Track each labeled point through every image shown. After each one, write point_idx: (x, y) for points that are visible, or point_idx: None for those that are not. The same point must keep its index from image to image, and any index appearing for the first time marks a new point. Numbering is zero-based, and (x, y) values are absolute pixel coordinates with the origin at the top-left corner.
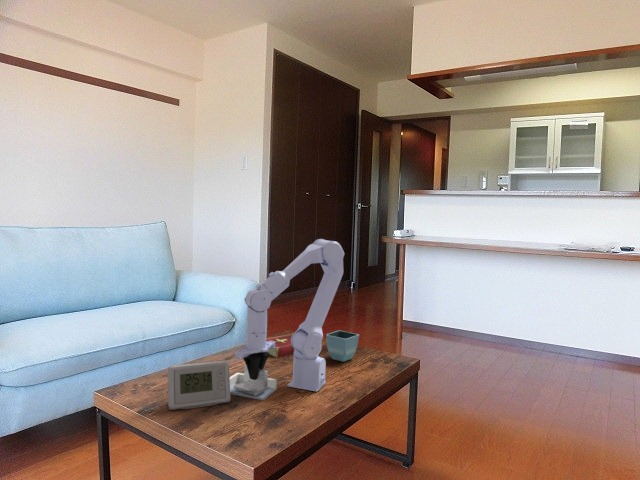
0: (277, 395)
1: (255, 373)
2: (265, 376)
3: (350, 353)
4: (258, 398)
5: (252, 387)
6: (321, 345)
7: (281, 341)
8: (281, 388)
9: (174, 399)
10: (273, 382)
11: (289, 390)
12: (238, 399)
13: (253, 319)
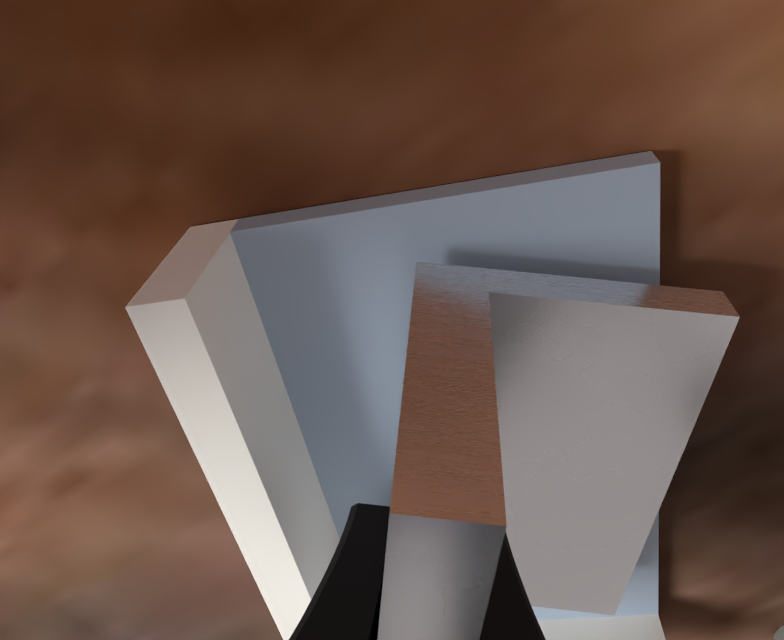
0: (350, 78)
1: (537, 621)
2: (471, 432)
3: None
4: (654, 232)
5: (549, 443)
6: None
7: None
8: (102, 190)
9: None
10: (210, 305)
11: (54, 35)
12: (758, 420)
13: None
